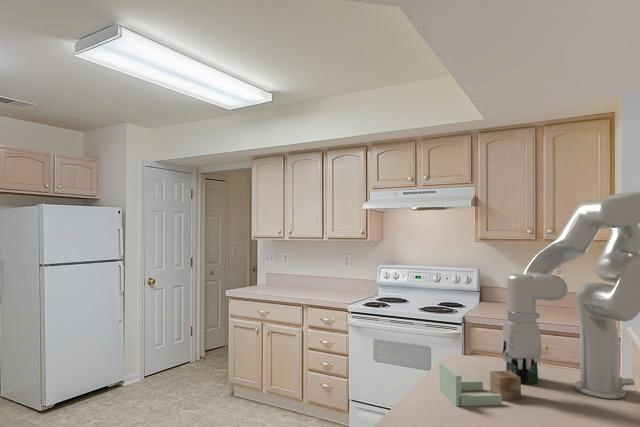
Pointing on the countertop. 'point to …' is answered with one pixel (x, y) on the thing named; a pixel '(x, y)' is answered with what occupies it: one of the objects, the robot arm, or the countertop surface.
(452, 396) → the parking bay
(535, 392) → the countertop surface
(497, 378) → the walnut block
